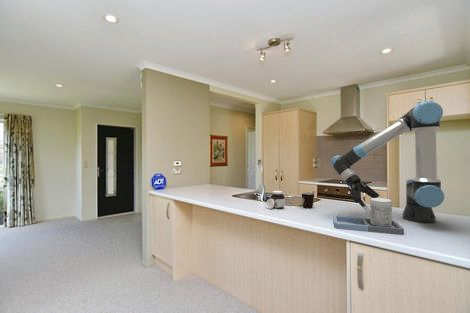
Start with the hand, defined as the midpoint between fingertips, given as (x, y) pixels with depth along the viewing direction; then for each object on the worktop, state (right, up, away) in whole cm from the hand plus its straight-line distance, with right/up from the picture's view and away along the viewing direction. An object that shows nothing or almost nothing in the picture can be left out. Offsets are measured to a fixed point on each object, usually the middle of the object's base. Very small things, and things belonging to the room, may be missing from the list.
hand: (377, 210), depth 123 cm
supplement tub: (+1, -9, -1) cm, 9 cm away
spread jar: (-45, -9, +44) cm, 64 cm away
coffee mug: (-22, -9, +47) cm, 52 cm away
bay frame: (-5, -9, +2) cm, 11 cm away
